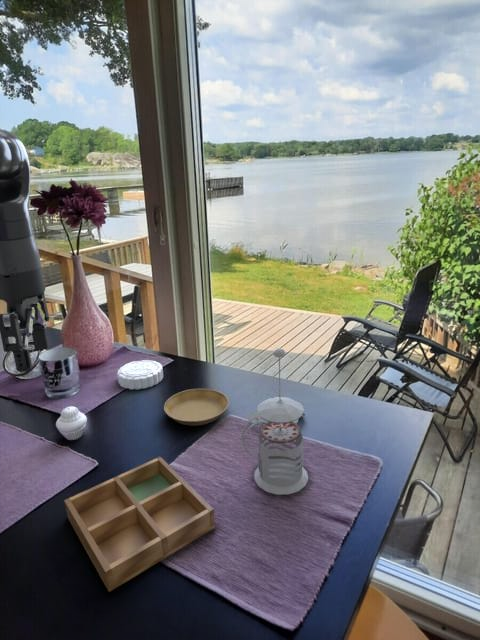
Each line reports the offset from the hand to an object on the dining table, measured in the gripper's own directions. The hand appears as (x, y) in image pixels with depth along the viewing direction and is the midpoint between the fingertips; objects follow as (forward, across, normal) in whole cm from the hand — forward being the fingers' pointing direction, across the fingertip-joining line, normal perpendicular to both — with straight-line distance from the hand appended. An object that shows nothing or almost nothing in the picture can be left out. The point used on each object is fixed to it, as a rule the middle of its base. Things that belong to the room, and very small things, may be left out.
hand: (34, 359), depth 75 cm
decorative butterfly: (+23, -12, +45) cm, 52 cm away
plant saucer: (+24, -17, +26) cm, 40 cm away
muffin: (+24, -12, 0) cm, 27 cm away
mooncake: (+24, -37, +11) cm, 46 cm away
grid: (+23, +15, +17) cm, 32 cm away
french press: (+23, +7, +41) cm, 47 cm away
